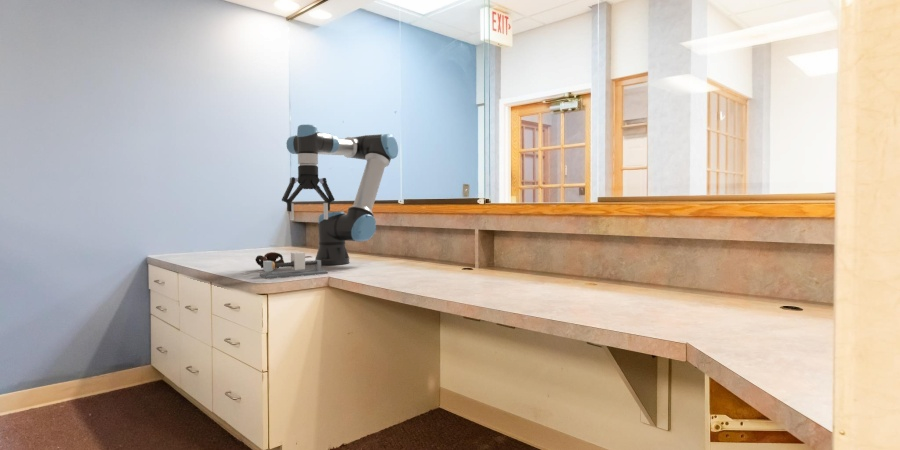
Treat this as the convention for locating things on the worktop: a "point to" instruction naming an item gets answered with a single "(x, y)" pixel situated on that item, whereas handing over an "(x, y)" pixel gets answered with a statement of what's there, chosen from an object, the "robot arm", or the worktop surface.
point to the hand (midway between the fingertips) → (309, 219)
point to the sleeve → (298, 260)
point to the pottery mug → (269, 258)
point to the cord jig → (270, 266)
